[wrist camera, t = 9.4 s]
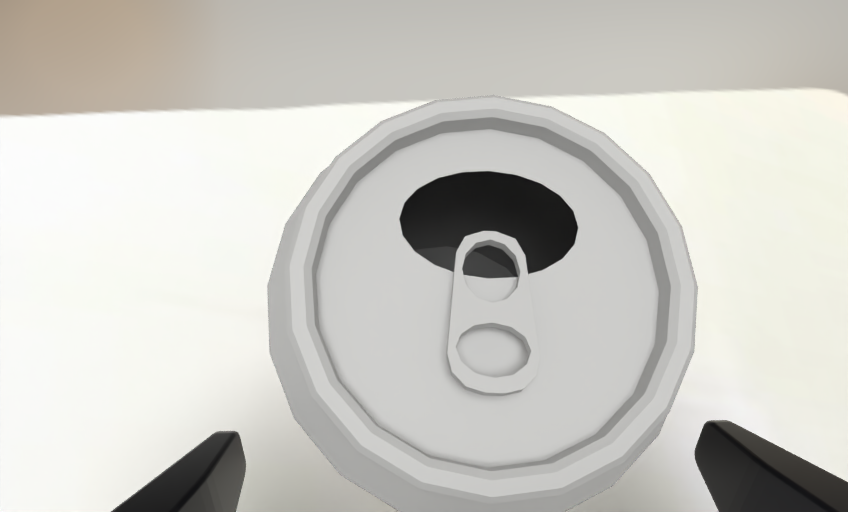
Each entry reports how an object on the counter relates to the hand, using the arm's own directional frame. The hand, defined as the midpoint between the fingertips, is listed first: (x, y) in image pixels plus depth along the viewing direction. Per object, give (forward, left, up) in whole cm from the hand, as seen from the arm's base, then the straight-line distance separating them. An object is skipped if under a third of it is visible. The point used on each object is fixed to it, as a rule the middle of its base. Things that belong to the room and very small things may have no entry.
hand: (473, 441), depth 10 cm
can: (+3, 0, -9) cm, 9 cm away
